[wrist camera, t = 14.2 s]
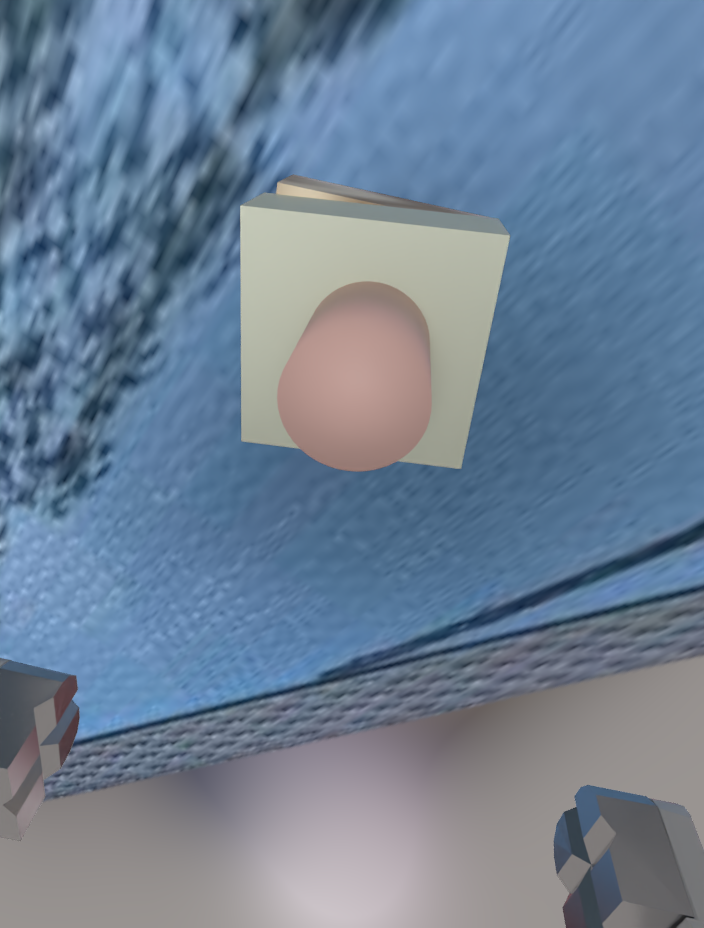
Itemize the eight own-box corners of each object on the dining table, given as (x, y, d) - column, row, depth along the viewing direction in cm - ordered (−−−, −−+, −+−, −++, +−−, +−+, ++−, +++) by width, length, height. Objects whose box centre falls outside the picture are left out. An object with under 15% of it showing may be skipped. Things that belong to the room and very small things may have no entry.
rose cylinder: (443, 295, 24) (449, 347, 18) (413, 410, 26) (411, 484, 21) (317, 269, 24) (286, 313, 18) (299, 386, 26) (269, 454, 21)
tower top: (498, 218, 26) (510, 235, 22) (456, 428, 31) (461, 469, 27) (264, 192, 26) (240, 205, 23) (261, 404, 31) (241, 441, 28)
